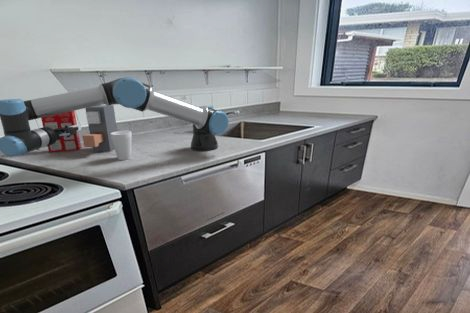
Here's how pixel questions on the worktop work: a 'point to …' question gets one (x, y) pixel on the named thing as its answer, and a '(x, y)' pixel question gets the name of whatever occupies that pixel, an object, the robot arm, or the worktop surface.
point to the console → (104, 127)
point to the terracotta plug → (92, 139)
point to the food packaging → (62, 121)
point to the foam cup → (122, 144)
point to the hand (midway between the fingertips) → (79, 127)
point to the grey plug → (93, 117)
